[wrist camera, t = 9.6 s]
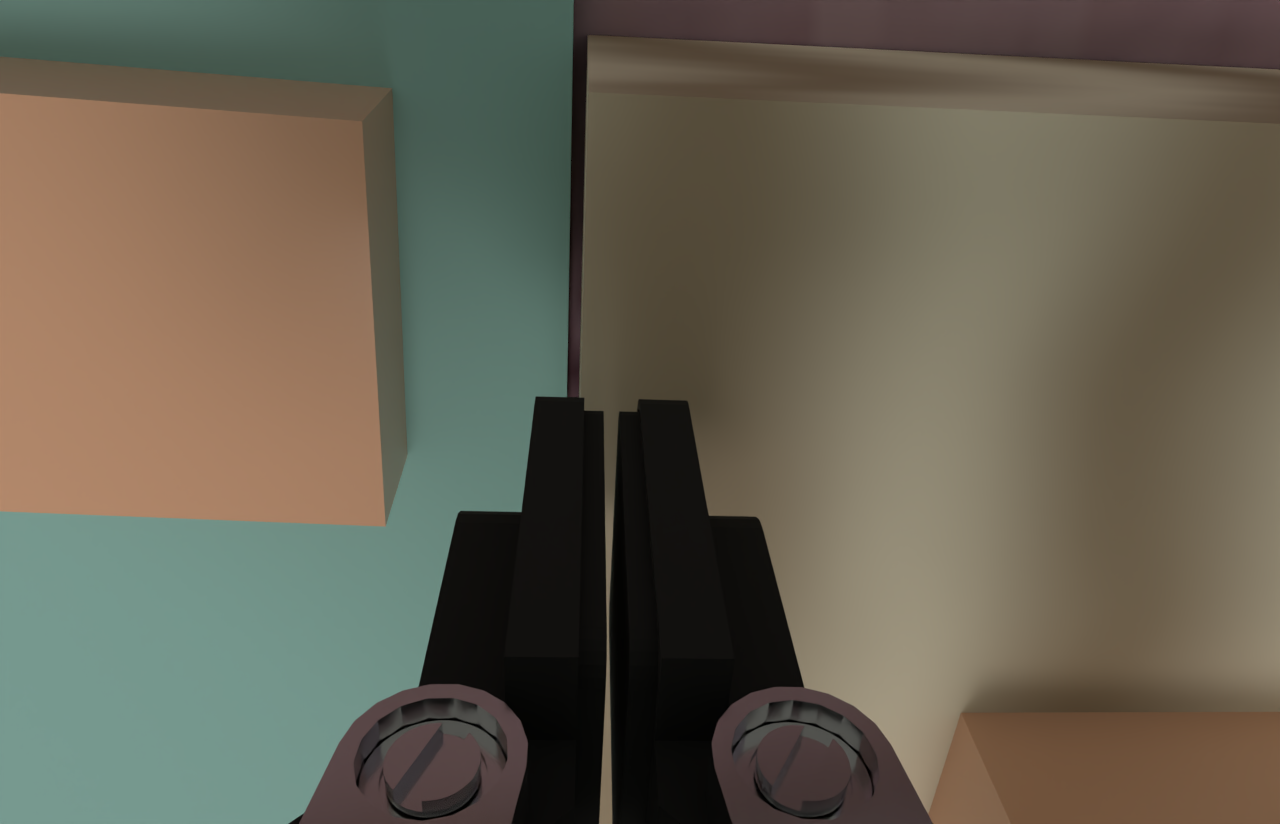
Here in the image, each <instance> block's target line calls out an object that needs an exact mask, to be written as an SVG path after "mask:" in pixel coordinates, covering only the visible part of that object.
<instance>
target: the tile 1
mask: <svg viewBox="0 0 1280 824" xmlns="http://www.w3.org/2000/svg"><path fill="white" fill-rule="evenodd" d="M407 455H408V454H407V430H406V406H405V382H404V358H403V334H402V310H401V286H400V262H399V238H398V214H397V190H396V166H395V142H394V118H393V94H392V88H383V87H371V86H358V85H346V84H334V83H321V82H309V81H297V80H284V79H272V78H260V77H247V76H235V75H223V74H210V73H198V72H186V71H173V70H161V69H149V68H136V67H124V66H111V65H99V64H87V63H74V62H62V61H50V60H37V59H25V58H13V57H0V511H4V512H29V513H55V514H80V515H105V516H131V517H156V518H181V519H207V520H232V521H257V522H283V523H308V524H333V525H359V526H384V527H386V524H387V521H388V517H389V514H390V511H391V507H392V504H393V501H394V498H395V494H396V491H397V488H398V485H399V481H400V478H401V475H402V472H403V468H404V465H405V462H406V459H407Z"/></svg>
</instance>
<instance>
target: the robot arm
mask: <svg viewBox="0 0 1280 824" xmlns="http://www.w3.org/2000/svg"><path fill="white" fill-rule="evenodd" d="M609 660H610V717H611V775H612V824H933V823H932V821H931V819H930V817H929V815H928V813H927V811H926V809H925V808H924V806H923V804H922V802H921V800H920V798H919V796H918V794H917V792H916V791H915V789H914V787H913V785H912V783H911V781H910V779H909V777H908V775H907V774H906V772H905V770H904V768H903V766H902V764H901V762H900V760H899V758H898V757H897V755H896V753H895V751H894V749H893V747H892V745H891V744H890V743H889V741H888V740H887V738H886V737H885V736H884V734H883V733H882V732H881V730H880V729H879V727H878V726H877V725H876V724H875V723H874V722H873V721H872V720H871V719H869V718H868V717H867V716H866V715H864V714H863V713H862V712H861V711H859V710H858V709H857V708H856V707H855V706H853V705H851V704H849V703H847V702H845V701H843V700H841V699H838V698H836V697H834V696H832V695H830V694H828V693H824V692H820V691H815V690H811V689H807V688H804V684H803V680H802V676H801V673H800V669H799V665H798V661H797V657H796V654H795V650H794V646H793V642H792V638H791V634H790V631H789V627H788V623H787V619H786V615H785V612H784V608H783V604H782V600H781V596H780V592H779V589H778V585H777V581H776V577H775V573H774V570H773V566H772V562H771V558H770V554H769V550H768V547H767V543H766V539H765V535H764V531H763V528H762V525H761V522H760V520H759V519H758V518H757V517H750V516H709V514H708V509H707V503H706V498H705V492H704V486H703V481H702V475H701V470H700V464H699V459H698V453H697V448H696V442H695V437H694V431H693V426H692V420H691V415H690V409H689V404H688V401H686V400H652V399H639V400H638V405H637V412H623V411H619V417H618V435H617V456H616V477H615V497H614V518H613V539H612V559H611V580H610V601H609ZM606 666H607V607H606V538H605V468H604V411H586V410H584V398H579V397H543V396H536V397H535V404H534V412H533V420H532V429H531V437H530V445H529V453H528V462H527V470H526V478H525V487H524V495H523V503H522V511H521V512H498V511H460V512H459V513H458V515H457V518H456V522H455V526H454V530H453V535H452V539H451V544H450V548H449V552H448V557H447V561H446V566H445V570H444V575H443V579H442V584H441V588H440V593H439V597H438V602H437V606H436V611H435V615H434V619H433V624H432V628H431V633H430V637H429V642H428V646H427V651H426V655H425V660H424V664H423V669H422V673H421V678H420V682H419V686H418V687H416V688H411V689H407V690H403V691H401V692H398V693H396V694H394V695H392V696H390V697H388V698H386V699H384V700H382V701H380V702H377V703H376V704H375V705H373V706H372V707H371V708H370V709H368V710H367V711H366V712H365V713H363V714H362V715H361V716H360V717H359V718H357V719H356V720H355V721H354V722H353V724H352V725H351V726H350V728H349V729H348V731H347V732H346V734H345V735H344V736H343V738H342V739H341V741H340V742H339V744H338V746H337V748H336V750H335V752H334V754H333V756H332V758H331V760H330V762H329V764H328V766H327V768H326V770H325V772H324V774H323V776H322V778H321V780H320V782H319V784H318V786H317V788H316V790H315V792H314V794H313V796H312V798H311V800H310V802H309V804H308V806H307V808H306V810H305V812H304V813H303V814H302V815H300V816H299V817H297V818H296V819H295V820H293V821H292V822H290V823H289V824H599V817H600V796H601V776H602V755H603V735H604V714H605V694H606Z"/></svg>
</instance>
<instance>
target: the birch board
mask: <svg viewBox="0 0 1280 824" xmlns="http://www.w3.org/2000/svg"><path fill="white" fill-rule="evenodd" d="M579 398H584V410H586V411H604V468H605V538H606V607H607V666H606V694H605V714H604V735H603V755H602V776H601V796H600V817H599V824H612V775H611V717H610V660H609V601H610V580H611V559H612V539H613V518H614V497H615V477H616V456H617V435H618V417H619V411H623V412H637V405H638V400H639V399H652V400H686V401H688V404H689V409H690V415H691V420H692V426H693V431H694V437H695V442H696V448H697V453H698V459H699V464H700V470H701V475H702V481H703V486H704V492H705V498H706V503H707V509H708V514H709V516H750V517H757V518H758V519H759V520H760V522H761V525H762V528H763V531H764V535H765V539H766V543H767V547H768V550H769V554H770V558H771V562H772V566H773V570H774V573H775V577H776V581H777V585H778V589H779V592H780V596H781V600H782V604H783V608H784V612H785V615H786V619H787V623H788V627H789V631H790V634H791V638H792V642H793V646H794V650H795V654H796V657H797V661H798V665H799V669H800V673H801V676H802V680H803V684H804V688H807V689H811V690H815V691H820V692H824V693H828V694H830V695H832V696H834V697H836V698H838V699H841V700H843V701H845V702H847V703H849V704H851V705H853V706H855V707H856V708H857V709H858V710H859V711H861V712H862V713H863V714H864V715H866V716H867V717H868V718H869V719H871V720H872V721H873V722H874V723H875V724H876V725H877V726H878V727H879V729H880V730H881V732H882V733H883V734H884V736H885V737H886V738H887V740H888V741H889V743H890V744H891V745H892V747H893V749H894V751H895V753H896V755H897V757H898V758H899V760H900V762H901V764H902V766H903V768H904V770H905V772H906V774H907V775H908V777H909V779H910V781H911V783H912V785H913V787H914V789H915V791H916V792H917V794H918V796H919V798H920V800H921V802H922V804H923V806H924V808H925V809H926V811H927V813H928V814H929V811H930V808H931V805H932V801H933V798H934V795H935V792H936V789H937V786H938V783H939V780H940V776H941V773H942V770H943V767H944V764H945V761H946V758H947V755H948V751H949V748H950V745H951V742H952V739H953V736H954V733H955V730H956V727H957V723H958V720H959V717H960V714H961V713H1018V712H1280V70H1279V69H1259V68H1239V67H1219V66H1199V65H1179V64H1159V63H1139V62H1120V61H1100V60H1080V59H1060V58H1040V57H1020V56H1000V55H980V54H960V53H940V52H920V51H900V50H880V49H860V48H840V47H821V46H801V45H781V44H761V43H741V42H721V41H701V40H681V39H661V38H641V37H621V36H601V35H588V40H587V81H586V122H585V163H584V205H583V246H582V287H581V328H580V370H579Z"/></svg>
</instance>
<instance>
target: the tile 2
mask: <svg viewBox="0 0 1280 824" xmlns="http://www.w3.org/2000/svg"><path fill="white" fill-rule="evenodd" d="M928 815H929V817H930V819H931V821H932V823H933V824H1280V712H1018V713H961V714H960V717H959V720H958V723H957V727H956V730H955V733H954V736H953V739H952V742H951V745H950V748H949V751H948V755H947V758H946V761H945V764H944V767H943V770H942V773H941V776H940V780H939V783H938V786H937V789H936V792H935V795H934V798H933V801H932V805H931V808H930V811H929V814H928Z"/></svg>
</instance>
